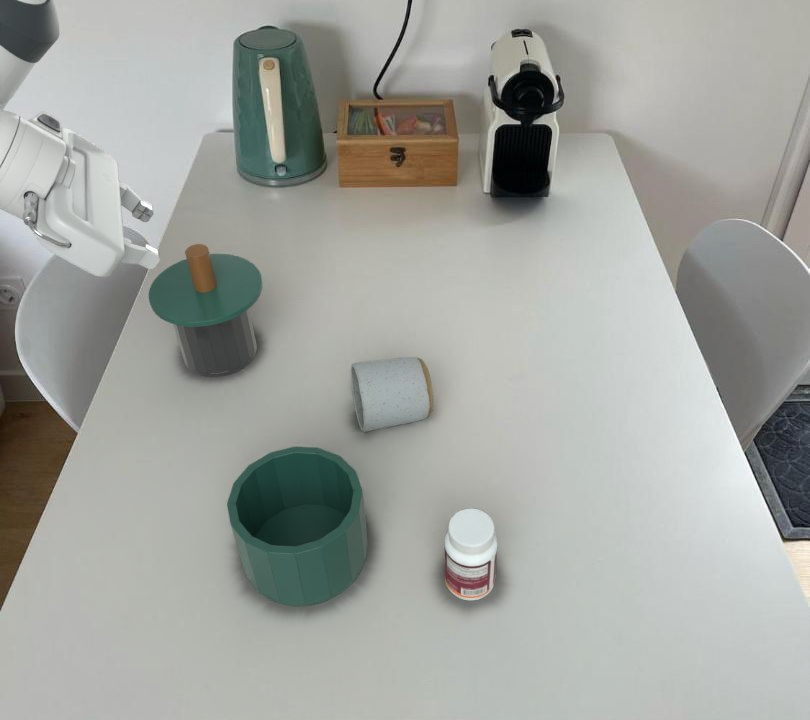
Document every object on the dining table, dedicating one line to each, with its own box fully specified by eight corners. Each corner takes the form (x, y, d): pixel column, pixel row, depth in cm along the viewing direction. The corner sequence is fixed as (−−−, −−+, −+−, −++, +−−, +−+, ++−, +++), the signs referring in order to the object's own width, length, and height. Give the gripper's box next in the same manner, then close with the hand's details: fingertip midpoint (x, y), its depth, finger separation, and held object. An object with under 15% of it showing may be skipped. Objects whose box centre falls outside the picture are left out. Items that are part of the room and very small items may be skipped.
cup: (188, 384, 97) (170, 326, 91) (180, 337, 103) (164, 280, 97) (262, 367, 99) (250, 309, 92) (250, 322, 105) (238, 265, 99)
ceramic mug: (437, 431, 90) (436, 380, 85) (365, 446, 88) (360, 396, 83) (412, 369, 98) (410, 319, 92) (345, 383, 96) (339, 333, 91)
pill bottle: (461, 549, 78) (463, 495, 73) (504, 573, 76) (509, 520, 71) (434, 585, 76) (433, 532, 70) (477, 611, 74) (480, 559, 68)
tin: (254, 622, 74) (238, 569, 68) (235, 519, 82) (219, 464, 76) (381, 585, 76) (376, 531, 70) (350, 488, 84) (343, 434, 79)
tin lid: (156, 341, 89) (141, 296, 85) (146, 275, 98) (133, 231, 94) (273, 316, 91) (264, 271, 87) (253, 253, 101) (244, 209, 96)
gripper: (40, 201, 71) (178, 269, 79) (46, 103, 85) (162, 170, 94) (5, 253, 73) (143, 314, 81) (16, 149, 87) (133, 211, 96)
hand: (153, 237), depth 88 cm, fingers open, 8 cm apart
